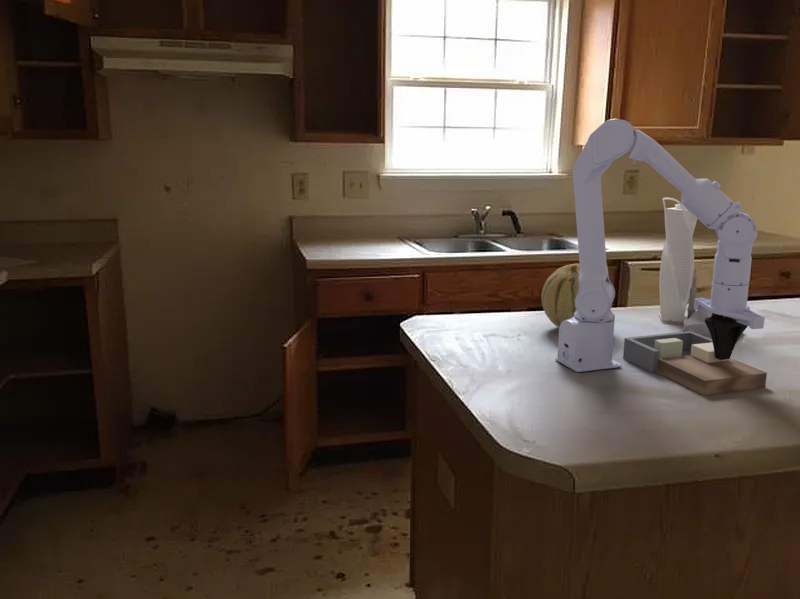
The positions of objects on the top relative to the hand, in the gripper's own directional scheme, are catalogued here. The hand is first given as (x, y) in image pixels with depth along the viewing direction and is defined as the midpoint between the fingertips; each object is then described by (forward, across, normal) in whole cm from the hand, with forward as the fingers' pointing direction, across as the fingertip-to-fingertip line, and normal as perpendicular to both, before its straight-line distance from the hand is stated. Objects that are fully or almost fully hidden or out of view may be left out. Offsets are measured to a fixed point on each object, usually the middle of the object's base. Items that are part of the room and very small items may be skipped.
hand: (722, 358), depth 126 cm
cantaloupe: (+4, +34, +9) cm, 36 cm away
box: (+3, +10, +2) cm, 10 cm away
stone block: (+4, +23, -18) cm, 30 cm away
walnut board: (+3, 0, +3) cm, 4 cm away
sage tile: (+1, +7, +5) cm, 9 cm away
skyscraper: (+4, +36, -17) cm, 40 cm away
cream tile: (+1, +3, 0) cm, 3 cm away
